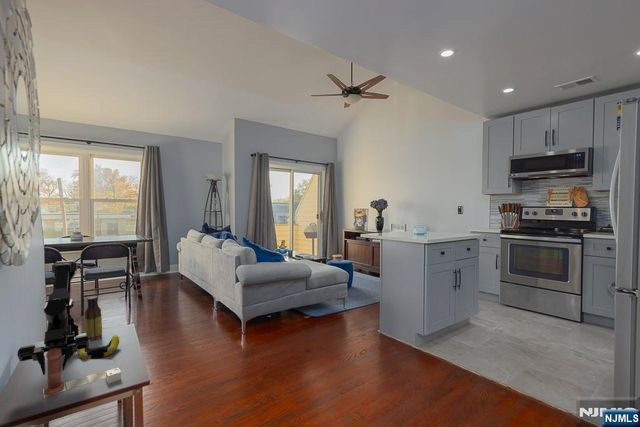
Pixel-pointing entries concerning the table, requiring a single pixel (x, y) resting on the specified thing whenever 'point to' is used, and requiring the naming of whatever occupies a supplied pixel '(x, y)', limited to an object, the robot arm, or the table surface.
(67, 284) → the robot arm
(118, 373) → the die
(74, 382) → the game board
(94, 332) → the sauce bottle
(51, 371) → the pawn
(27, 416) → the table surface
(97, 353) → the gaming controller
